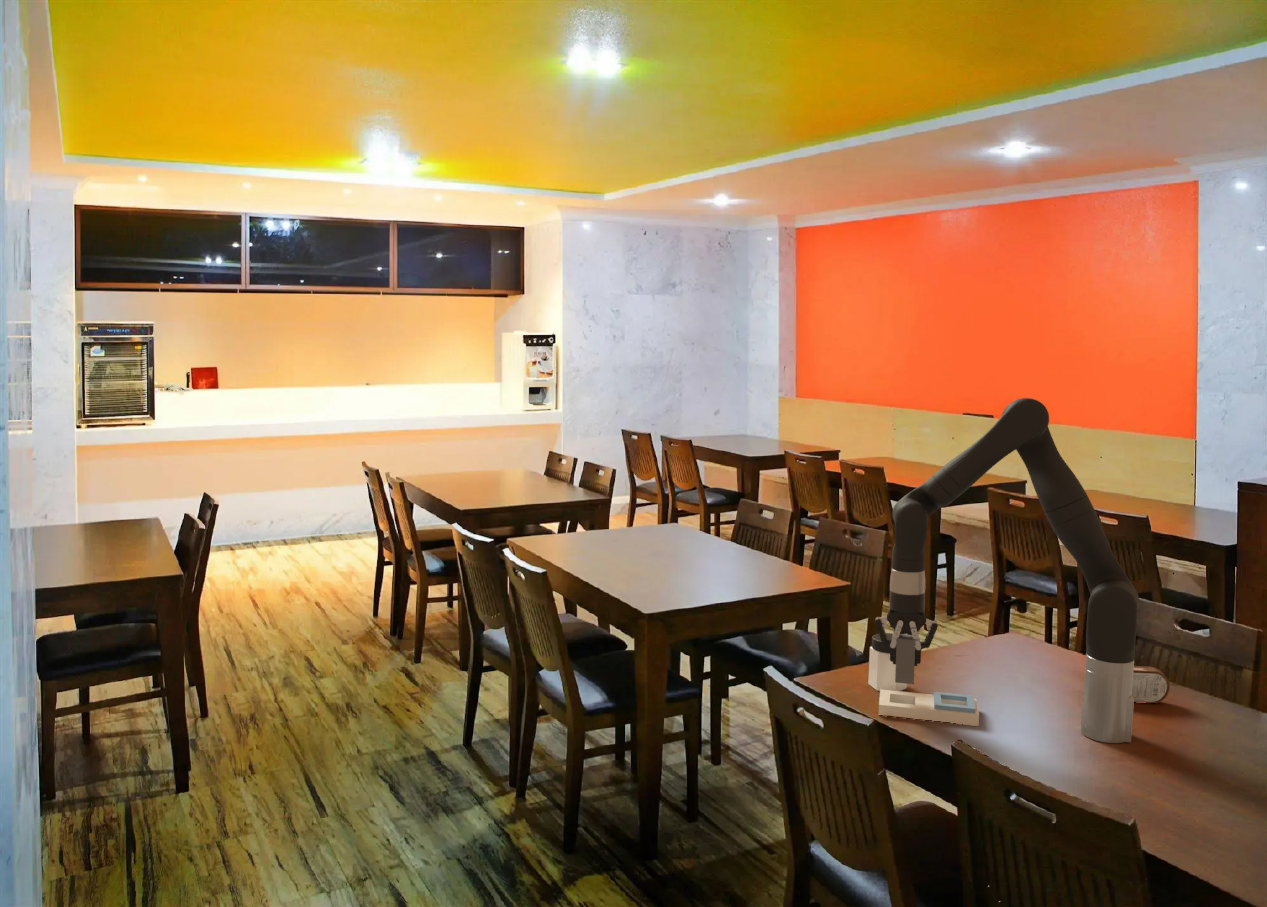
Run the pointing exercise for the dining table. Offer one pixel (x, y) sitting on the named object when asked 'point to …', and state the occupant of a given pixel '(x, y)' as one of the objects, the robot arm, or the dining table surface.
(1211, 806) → the dining table surface
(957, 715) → the socket block
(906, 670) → the plug
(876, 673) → the jar
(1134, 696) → the tin
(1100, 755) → the dining table surface
